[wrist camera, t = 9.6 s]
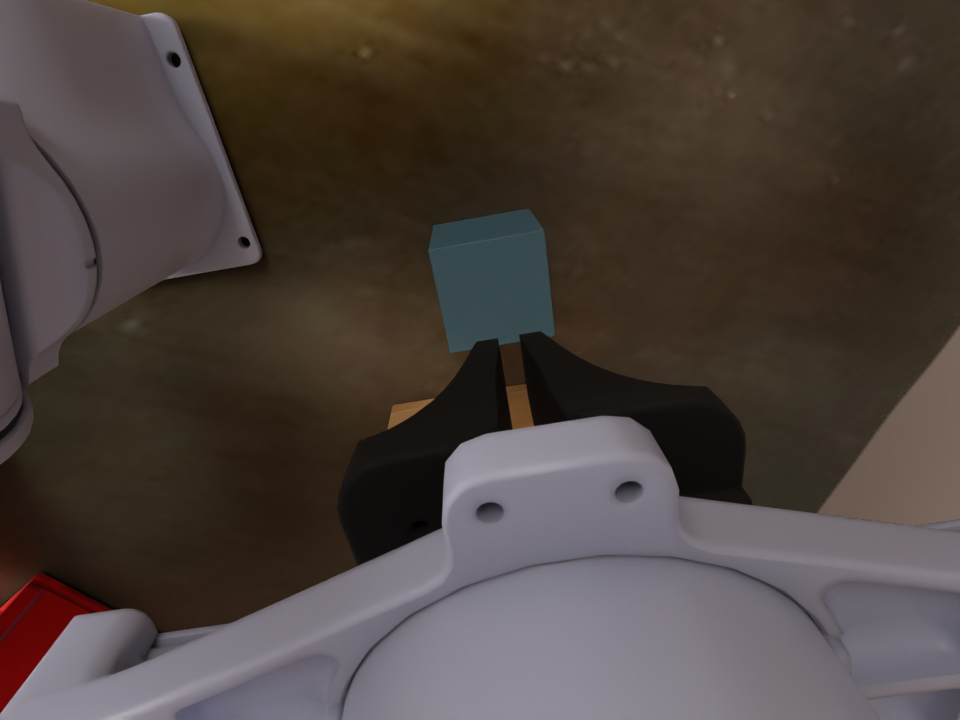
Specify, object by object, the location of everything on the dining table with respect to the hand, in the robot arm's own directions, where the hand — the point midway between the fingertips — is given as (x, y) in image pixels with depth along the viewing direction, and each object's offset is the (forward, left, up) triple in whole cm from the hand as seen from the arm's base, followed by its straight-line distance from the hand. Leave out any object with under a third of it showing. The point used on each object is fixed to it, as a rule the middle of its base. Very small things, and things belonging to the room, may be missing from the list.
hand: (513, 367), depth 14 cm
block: (0, 0, -10) cm, 10 cm away
